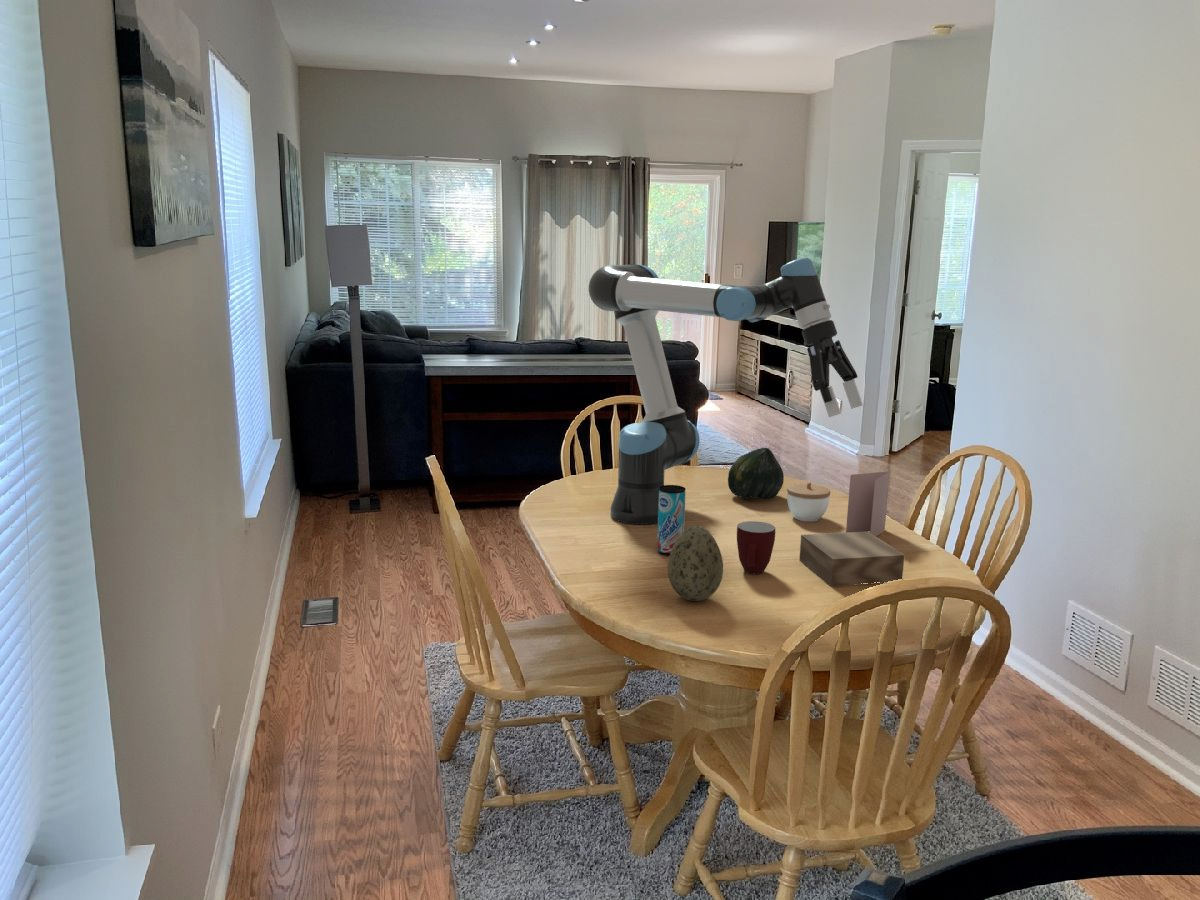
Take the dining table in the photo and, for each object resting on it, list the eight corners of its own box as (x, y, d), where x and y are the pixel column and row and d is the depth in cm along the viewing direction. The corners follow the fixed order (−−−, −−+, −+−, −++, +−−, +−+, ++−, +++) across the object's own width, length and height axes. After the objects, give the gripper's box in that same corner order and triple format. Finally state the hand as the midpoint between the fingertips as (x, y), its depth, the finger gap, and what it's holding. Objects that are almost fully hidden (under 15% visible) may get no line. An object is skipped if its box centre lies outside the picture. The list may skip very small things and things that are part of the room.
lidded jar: (817, 527, 231) (820, 490, 229) (778, 518, 237) (780, 483, 235) (834, 517, 240) (837, 482, 237) (796, 509, 246) (799, 475, 244)
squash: (713, 471, 262) (736, 440, 251) (758, 469, 268) (782, 438, 257) (731, 514, 254) (756, 483, 243) (776, 510, 261) (802, 480, 250)
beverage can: (651, 551, 211) (653, 487, 208) (668, 546, 215) (671, 483, 212) (671, 558, 207) (673, 493, 204) (688, 552, 211) (691, 488, 208)
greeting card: (882, 529, 231) (887, 470, 227) (901, 538, 224) (907, 477, 221) (843, 533, 227) (848, 473, 223) (862, 542, 220) (867, 481, 216)
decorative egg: (701, 586, 191) (704, 515, 187) (732, 604, 182) (736, 530, 178) (656, 594, 186) (658, 522, 182) (686, 613, 177) (689, 538, 173)
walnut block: (830, 586, 192) (833, 559, 190) (799, 560, 207) (801, 534, 206) (901, 582, 195) (904, 555, 193) (865, 556, 210) (867, 531, 209)
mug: (773, 583, 193) (776, 537, 191) (734, 580, 194) (736, 535, 192) (772, 566, 203) (775, 522, 201) (735, 563, 204) (737, 520, 202)
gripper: (808, 322, 203) (840, 414, 203) (851, 315, 223) (880, 399, 222) (779, 334, 208) (810, 424, 207) (823, 326, 227) (851, 408, 227)
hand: (846, 411), depth 215 cm, fingers open, 13 cm apart
